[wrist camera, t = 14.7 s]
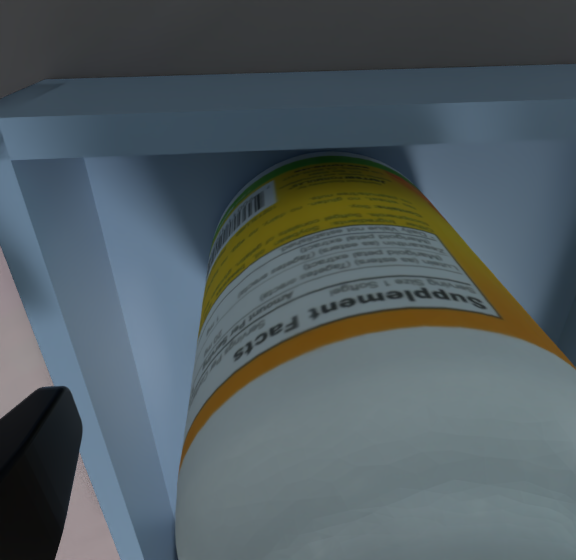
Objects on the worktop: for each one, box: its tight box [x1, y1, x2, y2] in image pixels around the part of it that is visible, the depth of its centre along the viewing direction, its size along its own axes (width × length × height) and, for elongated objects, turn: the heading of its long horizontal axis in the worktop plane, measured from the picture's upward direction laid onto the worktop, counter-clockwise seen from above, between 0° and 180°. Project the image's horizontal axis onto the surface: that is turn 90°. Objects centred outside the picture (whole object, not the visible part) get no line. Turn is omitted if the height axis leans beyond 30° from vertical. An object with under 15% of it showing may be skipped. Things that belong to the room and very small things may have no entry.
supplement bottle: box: [175, 151, 576, 560], centre depth 7 cm, size 5×5×10 cm
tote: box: [0, 64, 576, 560], centre depth 13 cm, size 17×13×4 cm
